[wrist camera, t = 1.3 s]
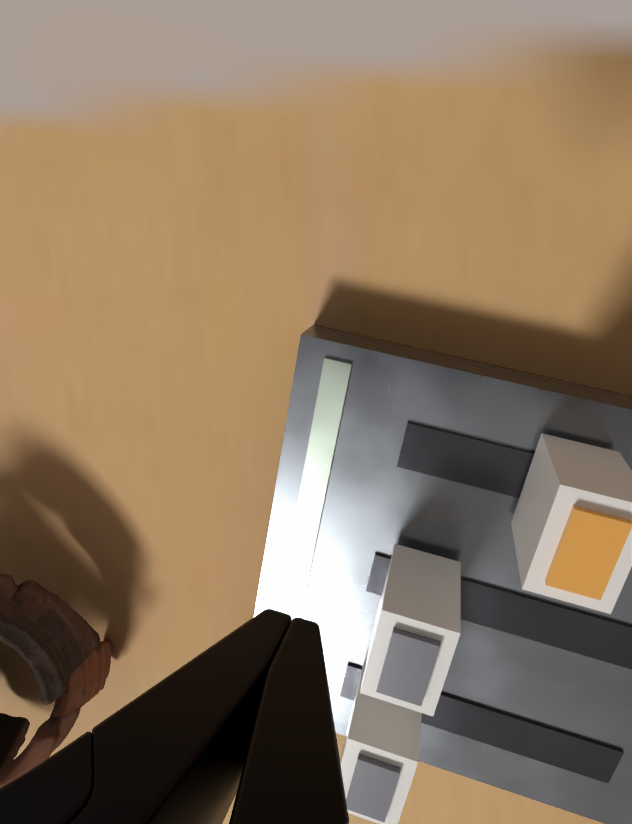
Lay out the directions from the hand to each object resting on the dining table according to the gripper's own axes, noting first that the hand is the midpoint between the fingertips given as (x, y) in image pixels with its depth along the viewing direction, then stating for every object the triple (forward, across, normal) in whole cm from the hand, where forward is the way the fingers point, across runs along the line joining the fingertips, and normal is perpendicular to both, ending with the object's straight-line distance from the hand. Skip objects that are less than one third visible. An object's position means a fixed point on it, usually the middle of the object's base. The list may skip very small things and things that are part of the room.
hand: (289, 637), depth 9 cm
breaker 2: (+9, -2, +9) cm, 13 cm away
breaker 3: (+8, -5, 0) cm, 10 cm away
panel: (+10, -6, +4) cm, 13 cm away
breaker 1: (+9, -2, +4) cm, 10 cm away
